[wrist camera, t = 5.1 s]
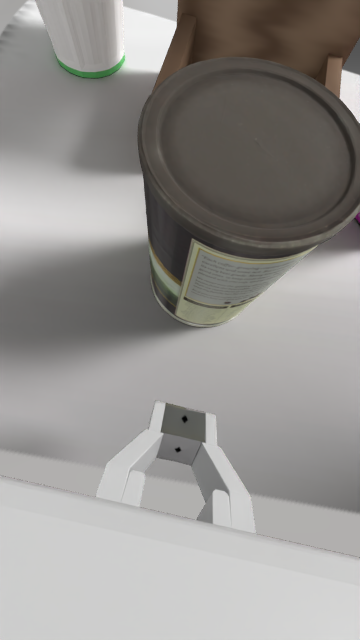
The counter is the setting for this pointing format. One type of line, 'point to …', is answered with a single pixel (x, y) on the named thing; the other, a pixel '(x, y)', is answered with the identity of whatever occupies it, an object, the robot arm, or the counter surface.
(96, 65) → the cup
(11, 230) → the counter surface
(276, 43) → the wooden caddy stand
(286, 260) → the coffee can
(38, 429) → the counter surface
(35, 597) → the robot arm
